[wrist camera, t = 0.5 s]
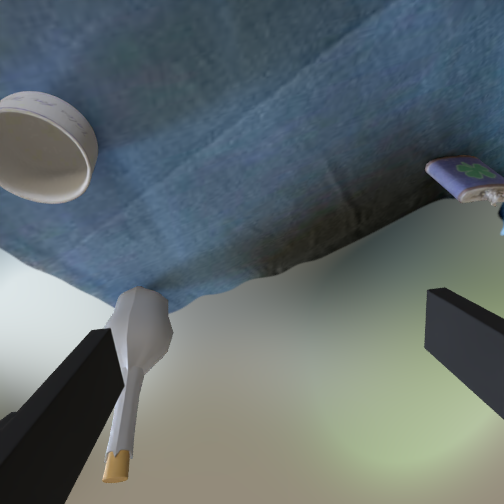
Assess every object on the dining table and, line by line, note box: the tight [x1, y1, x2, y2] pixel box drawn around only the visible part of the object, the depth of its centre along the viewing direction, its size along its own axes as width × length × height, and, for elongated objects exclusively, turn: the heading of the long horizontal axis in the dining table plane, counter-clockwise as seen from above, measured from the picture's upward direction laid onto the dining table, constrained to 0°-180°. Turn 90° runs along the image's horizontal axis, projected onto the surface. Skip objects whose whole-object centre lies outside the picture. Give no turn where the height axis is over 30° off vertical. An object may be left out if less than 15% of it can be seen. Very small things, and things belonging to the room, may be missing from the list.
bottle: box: [102, 286, 173, 483], centre depth 47 cm, size 11×11×30 cm
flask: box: [425, 155, 504, 207], centre depth 44 cm, size 9×3×11 cm, turn 88°
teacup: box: [0, 91, 98, 204], centre depth 33 cm, size 14×11×8 cm
